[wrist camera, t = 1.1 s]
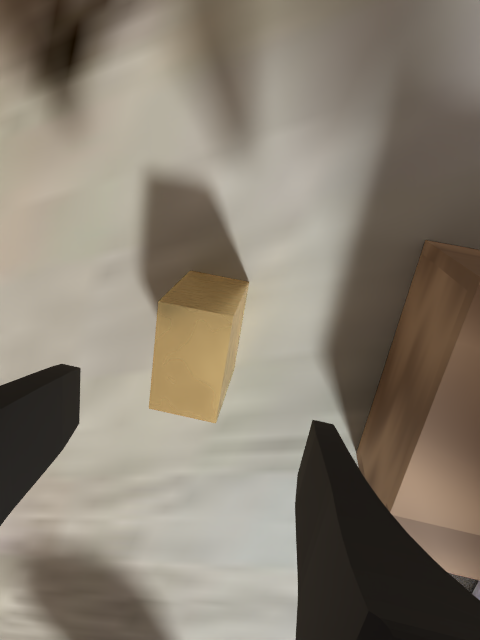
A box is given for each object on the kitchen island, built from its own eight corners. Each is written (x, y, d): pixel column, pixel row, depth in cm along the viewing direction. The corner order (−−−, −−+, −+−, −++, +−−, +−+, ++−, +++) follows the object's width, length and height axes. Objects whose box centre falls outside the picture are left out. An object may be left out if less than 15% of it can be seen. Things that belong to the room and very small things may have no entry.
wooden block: (234, 369, 23) (216, 423, 18) (180, 358, 23) (148, 408, 18) (249, 281, 21) (233, 316, 16) (190, 270, 21) (158, 301, 16)
